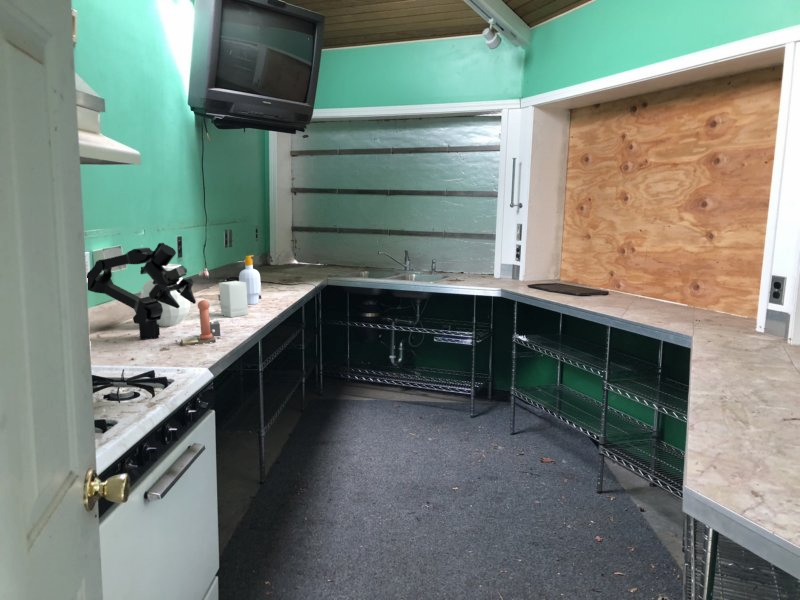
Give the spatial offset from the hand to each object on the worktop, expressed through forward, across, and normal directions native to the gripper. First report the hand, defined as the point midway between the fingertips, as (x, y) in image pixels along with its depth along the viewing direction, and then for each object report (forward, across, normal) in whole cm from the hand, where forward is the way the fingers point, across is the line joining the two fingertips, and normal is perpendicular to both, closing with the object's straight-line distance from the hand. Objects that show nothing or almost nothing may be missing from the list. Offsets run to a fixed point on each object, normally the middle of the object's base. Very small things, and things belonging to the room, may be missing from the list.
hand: (187, 305), depth 198 cm
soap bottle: (-3, +72, +22) cm, 75 cm away
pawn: (+14, 0, +4) cm, 14 cm away
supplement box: (+2, +45, +17) cm, 48 cm away
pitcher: (-10, +22, +29) cm, 37 cm away
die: (+12, +8, +7) cm, 16 cm away
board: (+13, -2, +6) cm, 14 cm away
